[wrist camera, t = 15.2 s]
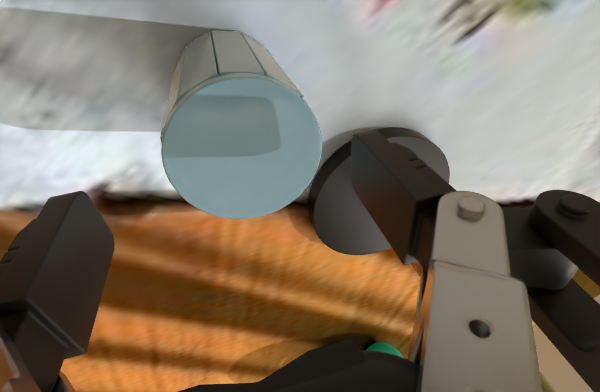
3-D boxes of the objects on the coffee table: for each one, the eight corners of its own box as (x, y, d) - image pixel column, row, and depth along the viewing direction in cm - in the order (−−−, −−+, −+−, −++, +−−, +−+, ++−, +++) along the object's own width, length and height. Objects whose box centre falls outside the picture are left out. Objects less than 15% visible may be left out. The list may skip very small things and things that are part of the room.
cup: (159, 105, 19) (136, 191, 12) (202, 6, 16) (205, 38, 9) (249, 146, 22) (273, 234, 15) (296, 67, 19) (351, 126, 12)
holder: (280, 223, 26) (363, 484, 13) (370, 98, 22) (635, 307, 9) (377, 256, 32) (501, 458, 19) (464, 164, 28) (704, 346, 15)
